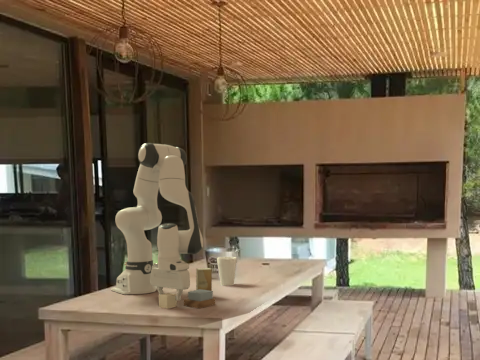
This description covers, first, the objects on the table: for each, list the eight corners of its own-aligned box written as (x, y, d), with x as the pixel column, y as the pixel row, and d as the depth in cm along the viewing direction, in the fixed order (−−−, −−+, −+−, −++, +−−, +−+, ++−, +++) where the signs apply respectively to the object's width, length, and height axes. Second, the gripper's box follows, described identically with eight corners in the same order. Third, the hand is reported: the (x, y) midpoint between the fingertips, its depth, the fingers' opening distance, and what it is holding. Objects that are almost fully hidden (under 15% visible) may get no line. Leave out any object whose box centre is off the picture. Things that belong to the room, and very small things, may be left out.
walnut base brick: (183, 306, 226) (183, 299, 226) (199, 303, 232) (199, 295, 232) (199, 309, 219) (199, 302, 220) (215, 306, 226) (215, 298, 226)
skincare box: (197, 298, 240) (197, 269, 240) (195, 296, 244) (195, 268, 244) (212, 297, 242) (212, 268, 242) (210, 295, 246) (209, 267, 246)
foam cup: (215, 283, 276) (215, 257, 276) (233, 282, 278) (233, 256, 278) (220, 286, 266) (220, 259, 267) (239, 285, 269) (238, 258, 269)
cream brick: (158, 307, 224) (158, 294, 224) (168, 305, 227) (168, 292, 228) (167, 308, 220) (166, 296, 220) (176, 306, 224) (176, 294, 224)
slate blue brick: (188, 299, 226) (188, 291, 226) (200, 296, 231) (200, 289, 231) (200, 301, 221) (200, 293, 221) (212, 298, 226) (212, 291, 226)
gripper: (146, 263, 229) (147, 297, 228) (180, 266, 215) (181, 302, 215) (158, 261, 234) (159, 295, 233) (192, 264, 220) (193, 300, 220)
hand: (170, 299), depth 224 cm, fingers open, 8 cm apart
